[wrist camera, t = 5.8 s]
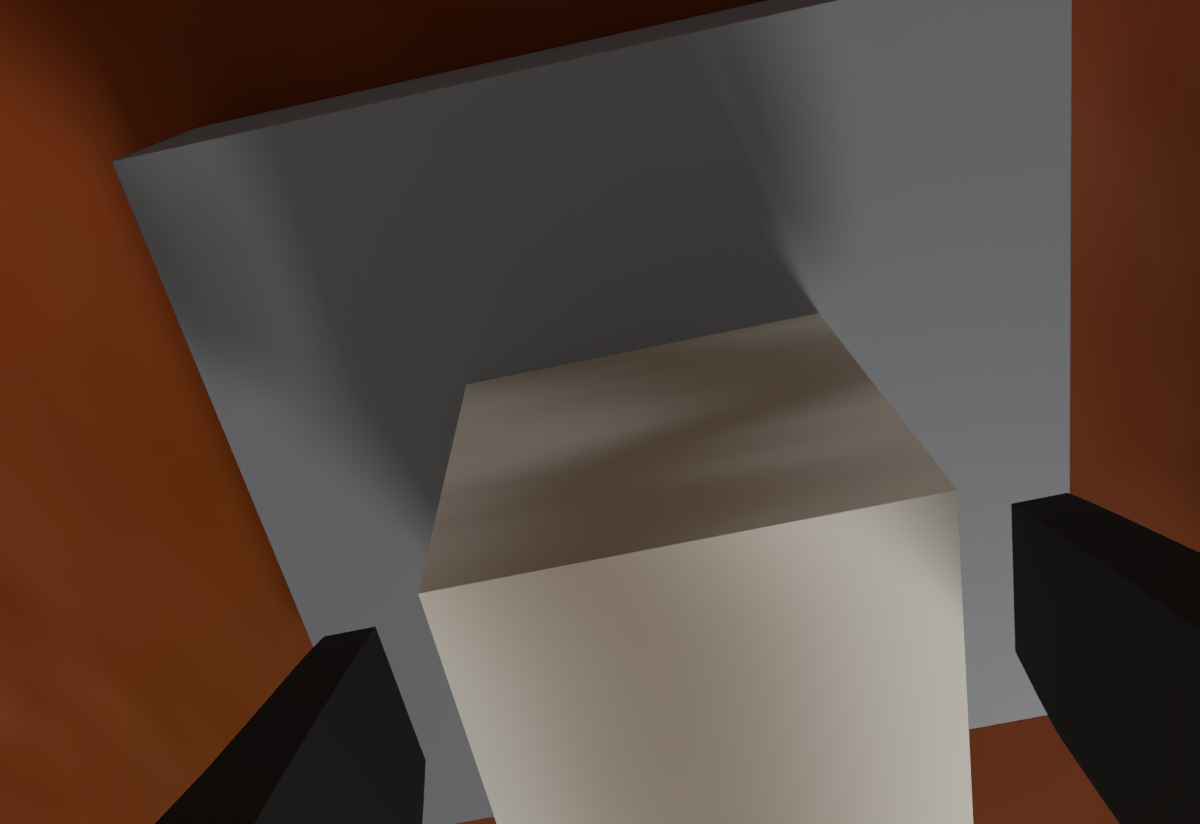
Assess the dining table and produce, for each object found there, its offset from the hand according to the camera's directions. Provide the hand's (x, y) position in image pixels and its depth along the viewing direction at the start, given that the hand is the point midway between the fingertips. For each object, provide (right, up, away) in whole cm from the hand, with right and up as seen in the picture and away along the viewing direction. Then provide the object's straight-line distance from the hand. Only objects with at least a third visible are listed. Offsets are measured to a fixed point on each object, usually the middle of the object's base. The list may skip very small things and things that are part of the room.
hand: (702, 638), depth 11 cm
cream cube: (0, +1, +4) cm, 4 cm away
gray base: (0, +3, +6) cm, 7 cm away
